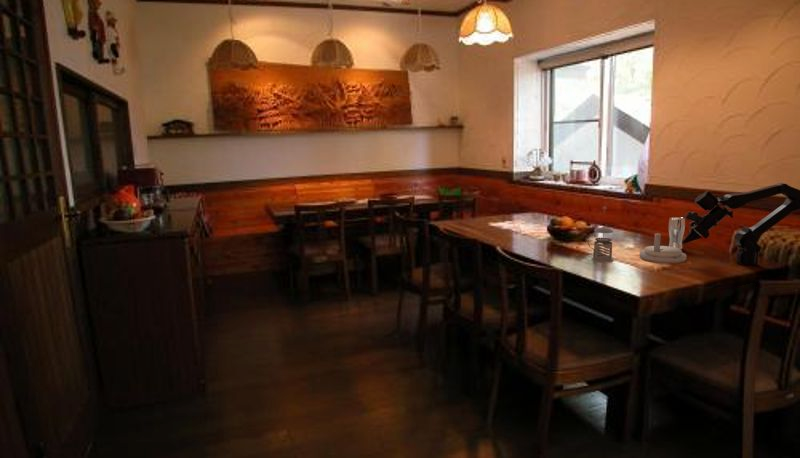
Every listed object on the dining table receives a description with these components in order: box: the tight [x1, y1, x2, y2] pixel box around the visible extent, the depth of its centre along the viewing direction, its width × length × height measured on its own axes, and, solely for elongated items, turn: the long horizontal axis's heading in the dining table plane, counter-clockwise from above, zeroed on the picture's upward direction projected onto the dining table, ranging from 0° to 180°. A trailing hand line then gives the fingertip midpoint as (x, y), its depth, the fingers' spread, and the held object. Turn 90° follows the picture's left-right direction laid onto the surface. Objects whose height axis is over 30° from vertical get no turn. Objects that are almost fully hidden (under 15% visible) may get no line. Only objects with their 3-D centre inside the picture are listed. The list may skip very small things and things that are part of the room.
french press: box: [587, 206, 615, 263], centre depth 224 cm, size 10×12×25 cm
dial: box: [644, 233, 683, 257], centre depth 223 cm, size 15×15×10 cm
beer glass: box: [668, 216, 686, 250], centre depth 241 cm, size 7×7×15 cm
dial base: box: [639, 249, 687, 264], centre depth 224 cm, size 19×19×2 cm
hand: (683, 242), depth 216 cm, fingers closed
